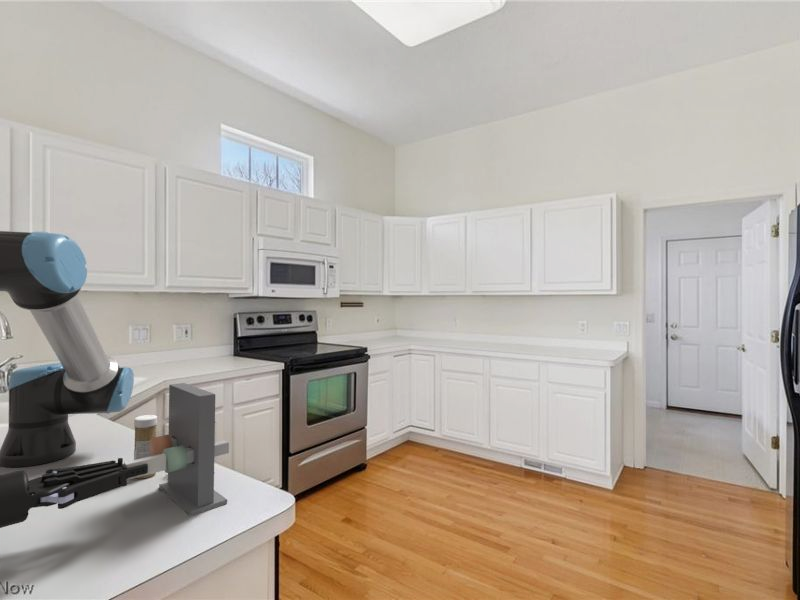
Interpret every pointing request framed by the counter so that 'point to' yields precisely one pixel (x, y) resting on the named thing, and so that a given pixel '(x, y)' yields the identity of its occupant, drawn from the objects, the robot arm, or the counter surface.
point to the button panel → (194, 430)
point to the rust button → (161, 444)
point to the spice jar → (144, 437)
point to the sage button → (188, 455)
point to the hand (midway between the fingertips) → (164, 461)
